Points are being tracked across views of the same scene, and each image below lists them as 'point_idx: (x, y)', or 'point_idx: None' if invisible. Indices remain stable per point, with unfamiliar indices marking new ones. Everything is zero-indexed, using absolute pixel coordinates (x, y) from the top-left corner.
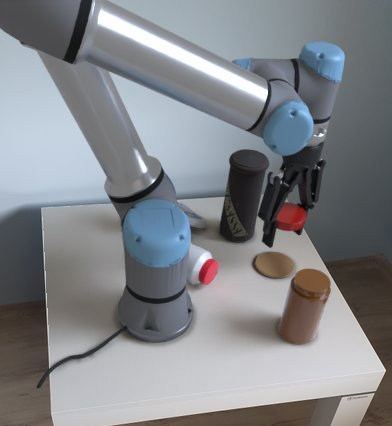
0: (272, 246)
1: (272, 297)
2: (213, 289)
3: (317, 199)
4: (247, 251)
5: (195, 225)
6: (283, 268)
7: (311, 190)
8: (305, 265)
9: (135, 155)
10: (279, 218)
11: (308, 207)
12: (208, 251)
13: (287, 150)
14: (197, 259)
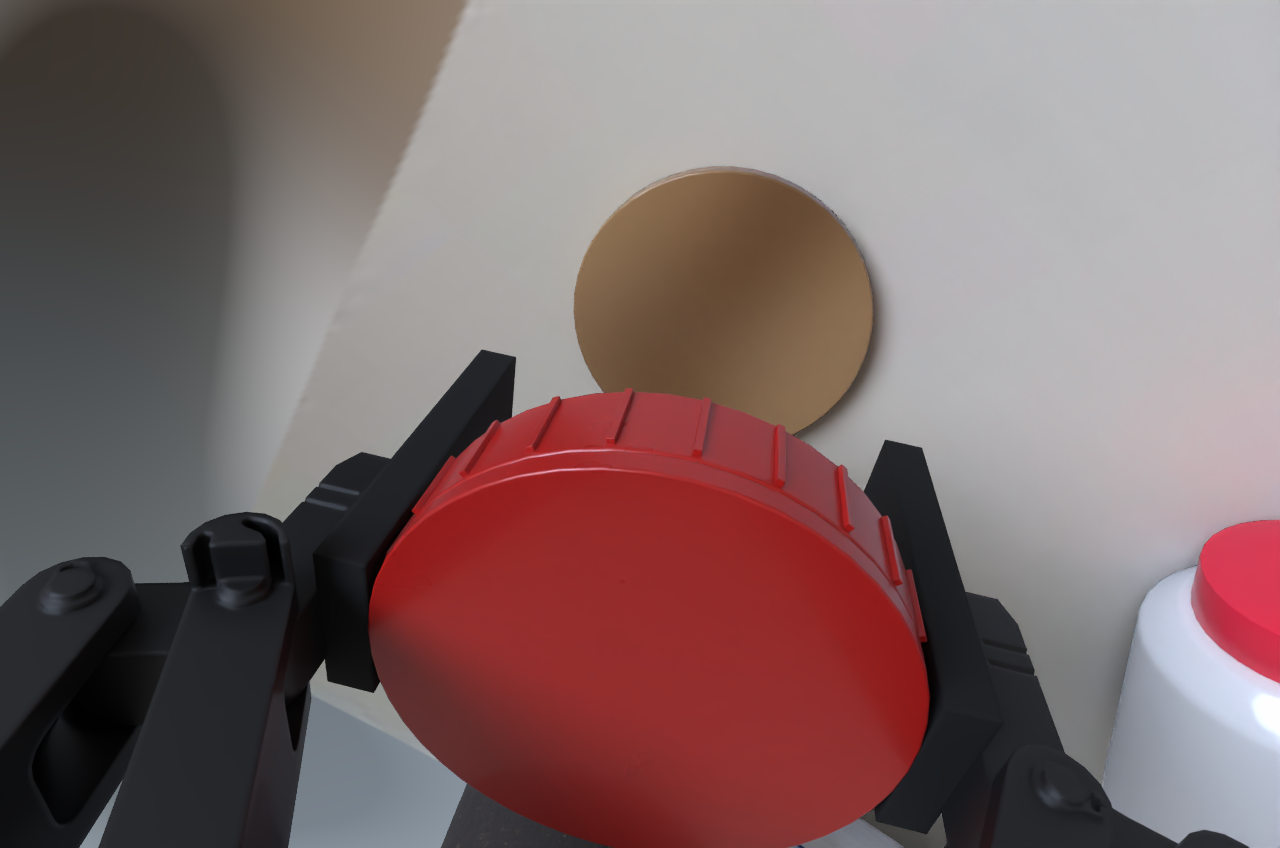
0: (887, 444)
1: (1090, 94)
2: (1263, 468)
3: (49, 597)
4: None
5: (862, 826)
6: (716, 249)
7: (33, 821)
8: (529, 153)
9: None
10: (855, 719)
11: (292, 574)
12: (1266, 747)
13: None
14: None
